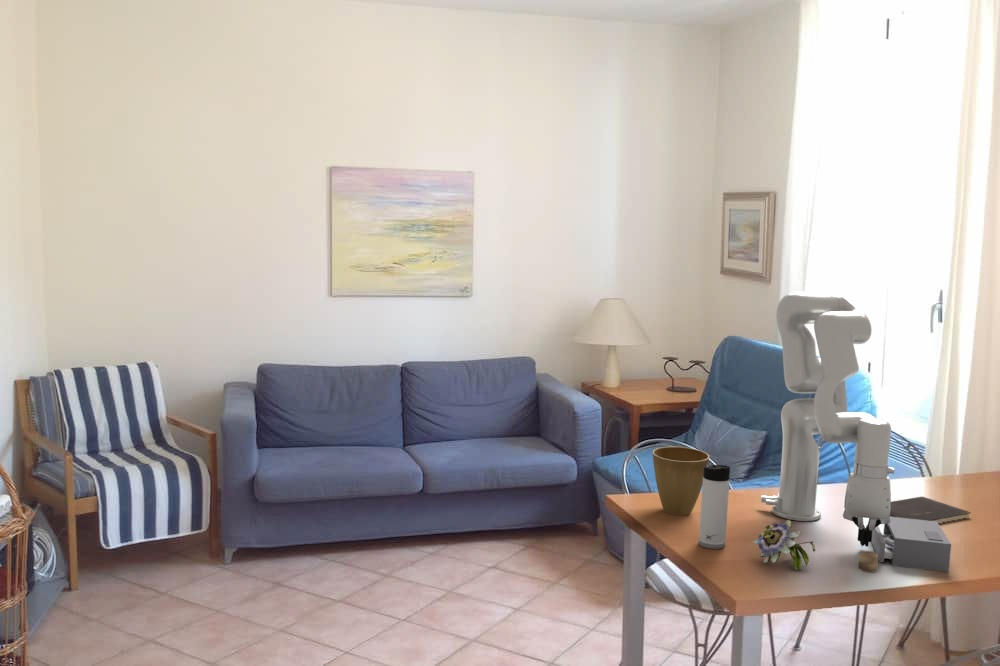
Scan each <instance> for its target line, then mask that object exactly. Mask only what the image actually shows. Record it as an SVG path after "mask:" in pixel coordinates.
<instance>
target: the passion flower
mask: <svg viewBox="0 0 1000 666" xmlns="http://www.w3.org/2000/svg"><path fill="white" fill-rule="evenodd" d="M791 526H792V520H790V519H787V520H786V521H785V522H784V523H783V522H778V523H774V522H773V524H772V525H770V524H767V526H765V527H764V528H763V530H762V532H761V533H759V534H758V538H756V539H753V541H752V542H753V543H754V544H755V545H758V547H759V550H761V552H760V555H759V557H760V558H764V560H763V561H762V563H763V564H768V563H770V561H771V562H772V564H776V563H777V562H778V561H779V560H780V557H781V554H784V555H785V556H786V555H789V554H790V557H791V559H792V562H793V566H794V569H795V570H797V571H798V572H800V571H801V569H802V568H801V567H802V564H803V563H802V559H803V561H804V563H805V568H807V567H808V565H809V562H810V557H809V556H808V553H807V551H805V549H804V548H803V547H802V546H801V545H802V544H803V545H804V544H808V543H809V544H810V545H811V546H812V552H815V551H816V547H815V544H814V541H806V542H801V543H800V542H799V543H797V541H795V540H794V539H796V538H798V537H800V535H801V531H798V530H797V531H796V530H795V531H791V530H790V528H791Z"/></svg>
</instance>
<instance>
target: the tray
mask: <svg viewBox="0 0 1000 666" xmlns="http://www.w3.org/2000/svg"><path fill="white" fill-rule="evenodd" d="M879 526H880V525H879ZM879 526H877V527H876V528H875V529H874V530H873V531H872V540H871V543H872V546H873V549H874V553H876V554H878V562H881V563H882V562H883V563H885V559H889V560H890V559H893V550H890V549H888V548H886V547H885V538H886V537H891V536H892V535H888V534H883V533H882V532H881V529H880V527H879Z"/></svg>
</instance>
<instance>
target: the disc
mask: <svg viewBox="0 0 1000 666" xmlns="http://www.w3.org/2000/svg"><path fill="white" fill-rule="evenodd" d="M885 547H886V548H888V549H890V550H893V549H894V538H893V536H891V537H886V538H885Z"/></svg>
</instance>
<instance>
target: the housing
mask: <svg viewBox="0 0 1000 666" xmlns="http://www.w3.org/2000/svg"><path fill="white" fill-rule="evenodd" d="M882 534H888V535H892V536H893V538H894V549H893V559H889V560H890V563H891V565H892V566H893V567H895V566H896V567H903V568H913V569H921V570H929V571H937V572H938V571H939V572H946V573H947V572H948V573H949V570H950V569H949V568H950V560H951V559H950V558H951V551H952V543H951V542H950V540H949V538H948V537H947V535H946V534H945V532H944V531H943V529H942V527H941V525H940V524H938V522H937V521H927V520H918V519H908V518H898V517H890V523H888V524H883V533H882Z"/></svg>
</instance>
